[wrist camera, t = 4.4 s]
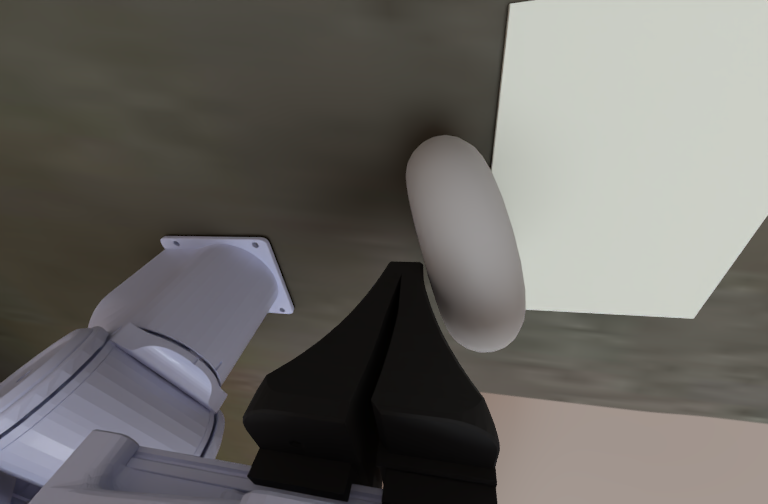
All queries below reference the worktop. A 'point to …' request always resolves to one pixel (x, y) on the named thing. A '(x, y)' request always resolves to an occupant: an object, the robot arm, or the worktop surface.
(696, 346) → the worktop surface
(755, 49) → the mat
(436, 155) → the donut
